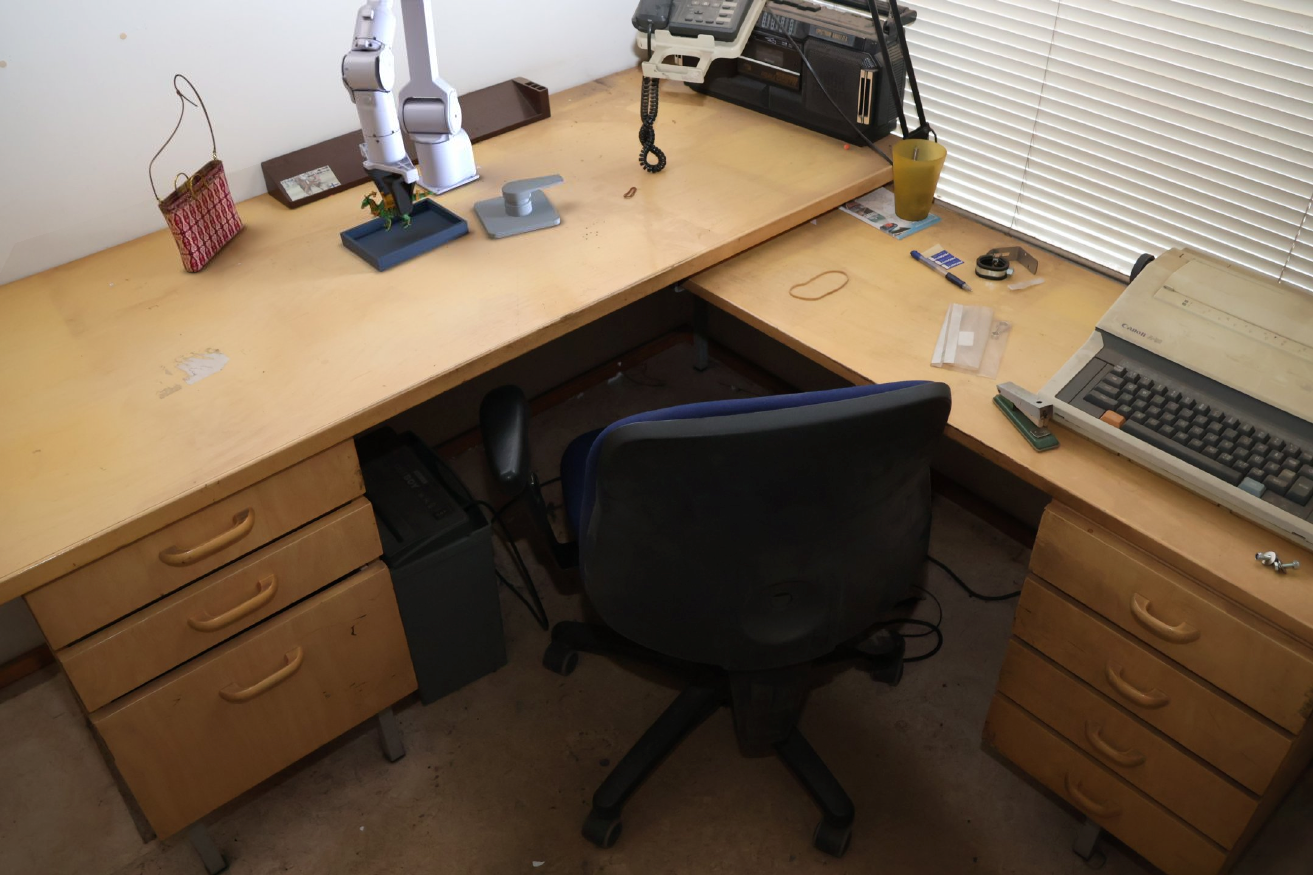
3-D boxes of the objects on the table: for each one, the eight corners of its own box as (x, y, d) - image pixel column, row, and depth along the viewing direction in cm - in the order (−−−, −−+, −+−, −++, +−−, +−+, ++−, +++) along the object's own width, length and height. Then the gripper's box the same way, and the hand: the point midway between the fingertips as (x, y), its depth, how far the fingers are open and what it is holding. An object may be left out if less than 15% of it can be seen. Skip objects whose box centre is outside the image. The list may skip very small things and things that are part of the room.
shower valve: (573, 191, 167) (485, 210, 163) (576, 220, 171) (490, 240, 167) (551, 161, 176) (467, 179, 172) (554, 190, 180) (473, 208, 176)
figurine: (366, 227, 166) (354, 182, 161) (438, 213, 169) (428, 169, 164) (368, 236, 164) (356, 191, 159) (441, 222, 167) (431, 177, 161)
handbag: (261, 214, 177) (214, 73, 161) (197, 276, 162) (139, 127, 146) (223, 211, 179) (174, 72, 162) (157, 273, 163) (95, 125, 147)
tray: (430, 209, 176) (427, 197, 175) (469, 233, 169) (467, 220, 168) (342, 245, 168) (339, 232, 166) (379, 271, 161) (376, 259, 159)
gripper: (335, 124, 158) (355, 202, 167) (382, 151, 150) (401, 232, 159) (374, 110, 162) (392, 188, 170) (422, 137, 153) (439, 217, 162)
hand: (399, 208), depth 165 cm, fingers closed on figurine, 3 cm apart
